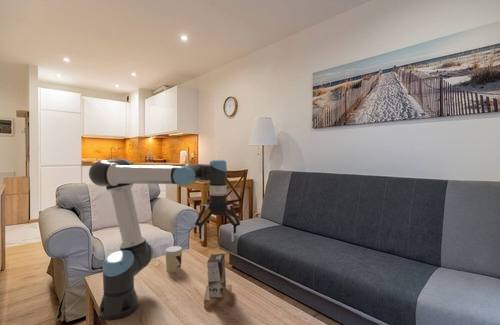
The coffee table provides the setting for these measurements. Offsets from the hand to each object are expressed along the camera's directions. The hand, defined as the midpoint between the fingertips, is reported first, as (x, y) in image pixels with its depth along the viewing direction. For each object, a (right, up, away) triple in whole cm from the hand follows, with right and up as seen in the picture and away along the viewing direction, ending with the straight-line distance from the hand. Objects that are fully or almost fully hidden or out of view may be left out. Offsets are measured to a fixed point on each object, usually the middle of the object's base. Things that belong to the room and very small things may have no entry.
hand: (217, 240), depth 119 cm
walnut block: (0, -28, +1) cm, 28 cm away
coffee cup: (-29, -26, +30) cm, 49 cm away
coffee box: (0, -24, 0) cm, 24 cm away
